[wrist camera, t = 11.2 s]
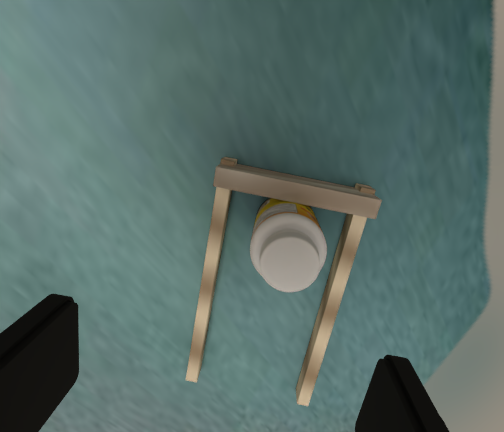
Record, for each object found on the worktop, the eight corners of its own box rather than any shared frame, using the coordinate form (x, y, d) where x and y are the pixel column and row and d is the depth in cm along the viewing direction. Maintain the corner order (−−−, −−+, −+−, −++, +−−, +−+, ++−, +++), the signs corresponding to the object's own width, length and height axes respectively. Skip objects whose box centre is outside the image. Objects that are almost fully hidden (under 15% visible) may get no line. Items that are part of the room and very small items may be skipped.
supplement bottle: (317, 243, 30) (336, 300, 21) (260, 250, 31) (253, 308, 21) (311, 187, 29) (329, 219, 19) (252, 195, 30) (240, 230, 20)
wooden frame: (224, 156, 29) (216, 161, 25) (368, 185, 29) (383, 195, 25) (190, 366, 36) (180, 395, 32) (306, 390, 35) (309, 423, 32)
